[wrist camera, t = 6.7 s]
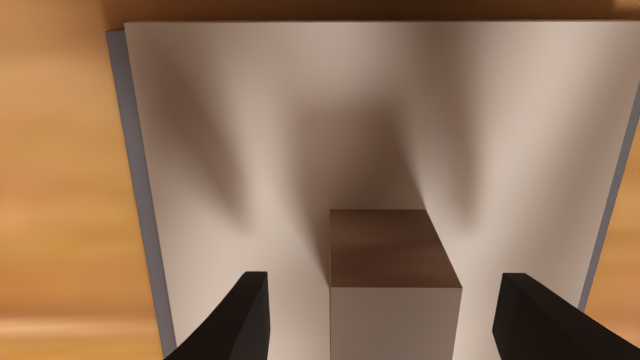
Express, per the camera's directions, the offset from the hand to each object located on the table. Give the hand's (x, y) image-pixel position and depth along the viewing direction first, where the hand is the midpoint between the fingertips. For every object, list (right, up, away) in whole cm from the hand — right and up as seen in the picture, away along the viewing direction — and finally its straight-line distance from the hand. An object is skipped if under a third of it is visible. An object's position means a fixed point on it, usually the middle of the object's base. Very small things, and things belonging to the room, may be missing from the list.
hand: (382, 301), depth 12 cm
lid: (0, +1, +3) cm, 3 cm away
